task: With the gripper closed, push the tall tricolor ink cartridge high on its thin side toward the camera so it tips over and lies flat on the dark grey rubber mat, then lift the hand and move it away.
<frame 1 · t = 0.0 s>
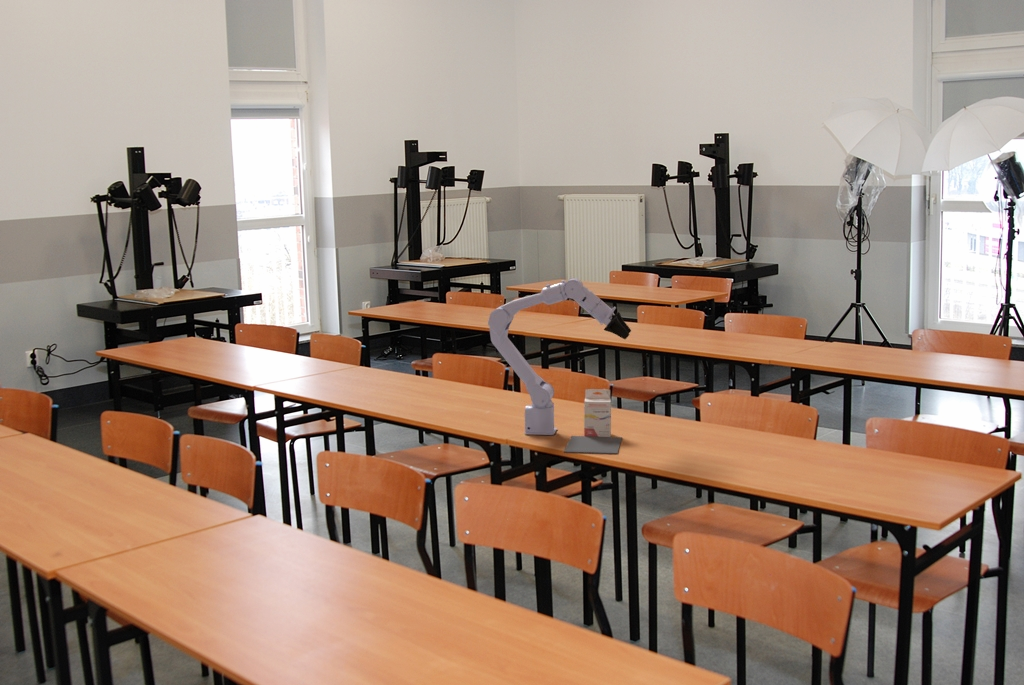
hand: (628, 335, 310), 32 cm above the table, tool tilted 50°, fingers open, 7 cm apart
ink cartridge box: (597, 436, 315), on the table
mat: (593, 445, 303), on the table
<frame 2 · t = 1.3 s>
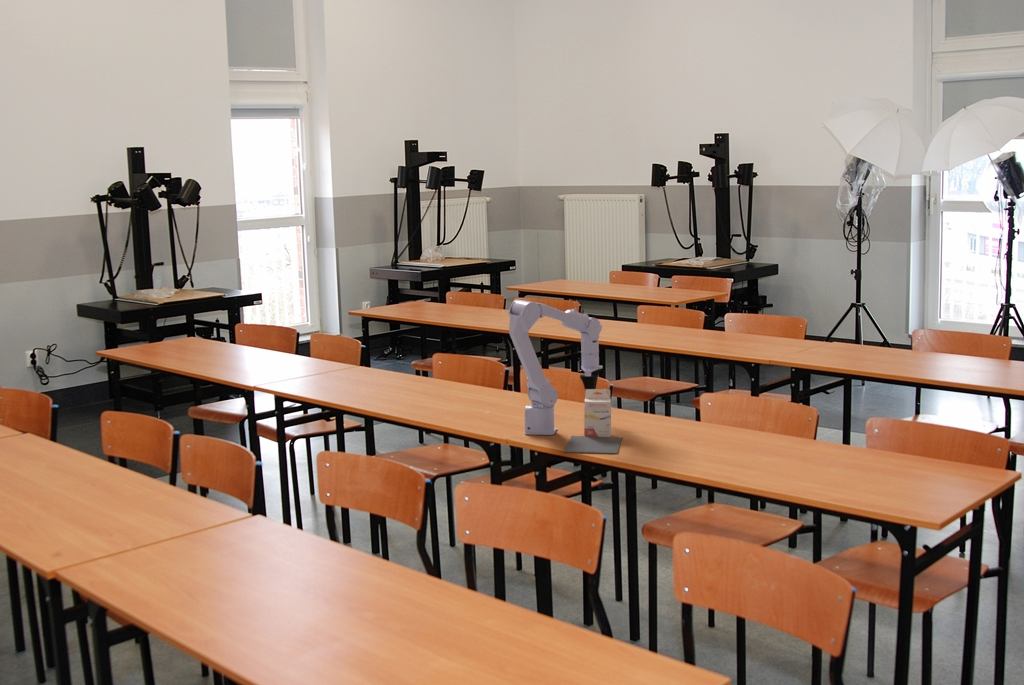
hand: (590, 393, 328), 11 cm above the table, tool pointing down, fingers open, 7 cm apart
nothing on the table moved.
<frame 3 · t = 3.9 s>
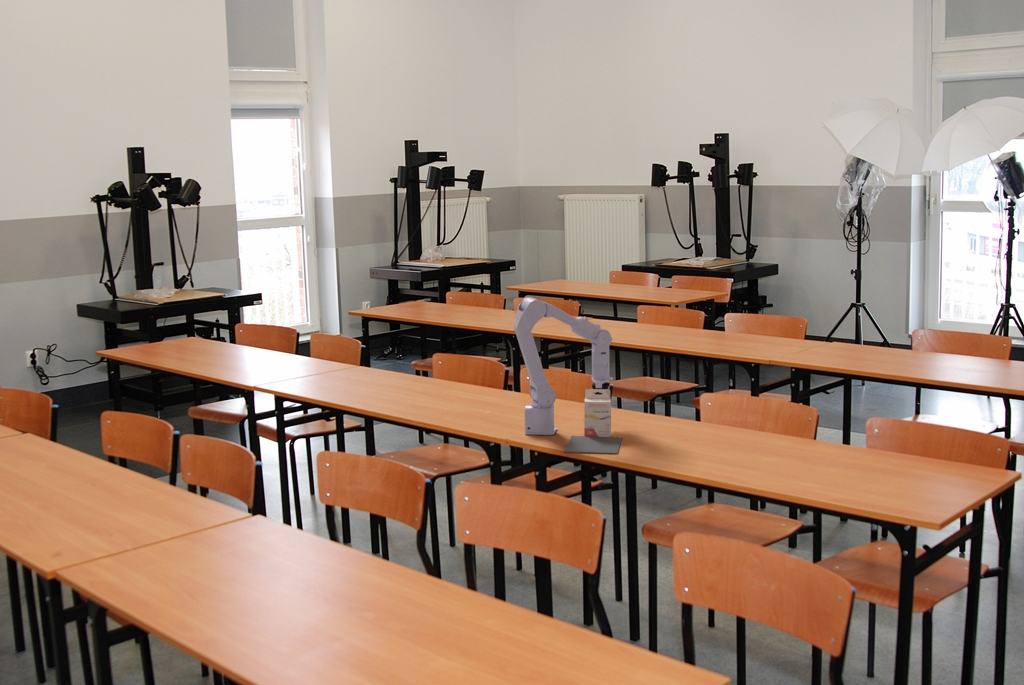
hand: (600, 405, 324), 7 cm above the table, tool pointing down, fingers closed
nothing on the table moved.
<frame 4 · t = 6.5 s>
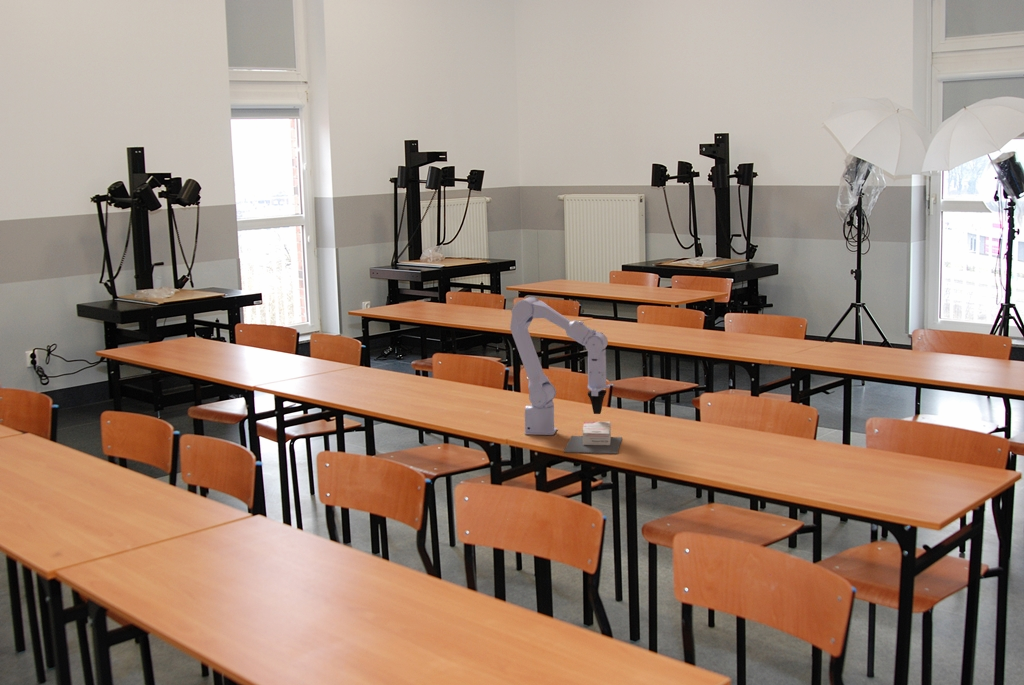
hand: (597, 413, 313), 7 cm above the table, tool pointing down, fingers closed
ink cartridge box: (597, 428, 313), point 3 cm above the table, touching mat
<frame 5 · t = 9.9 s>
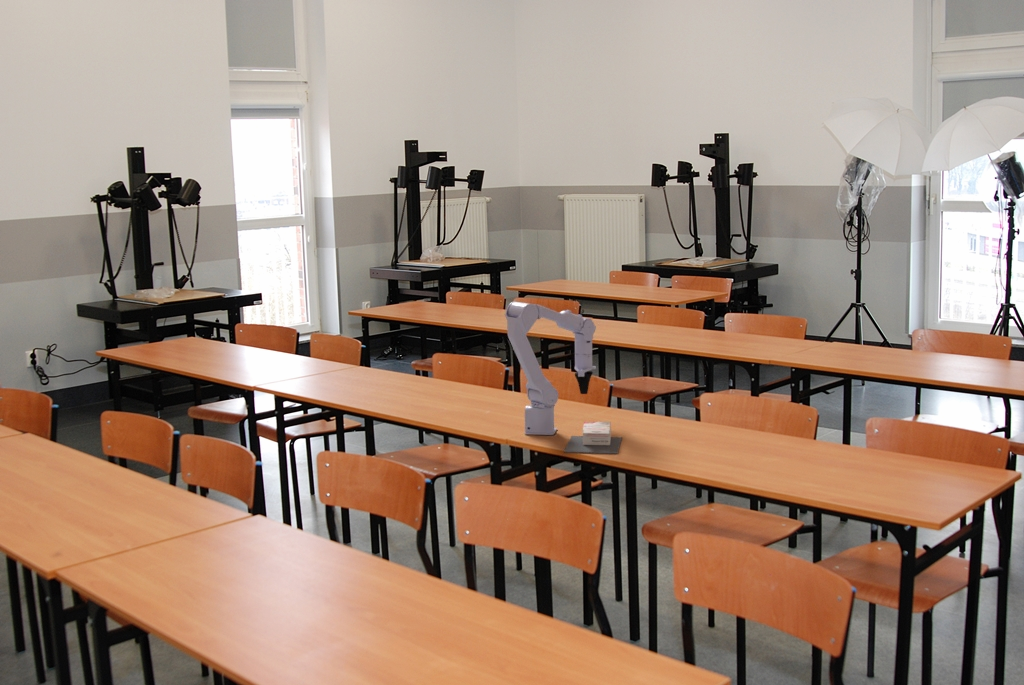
hand: (583, 393, 328), 10 cm above the table, tool pointing down, fingers closed
nothing on the table moved.
at the end: ink cartridge box tilted 89°; ink cartridge box touching mat; ink cartridge box inside the target area (1.2 cm from its centre), point 2.6 cm above the table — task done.
